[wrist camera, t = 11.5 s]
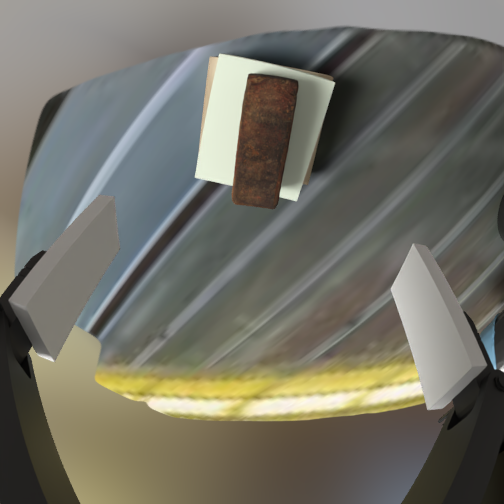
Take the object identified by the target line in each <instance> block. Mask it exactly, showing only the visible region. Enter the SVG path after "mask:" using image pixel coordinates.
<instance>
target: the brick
mask: <svg viewBox="0 0 504 504" xmlns="http://www.w3.org/2000/svg"><path fill="white" fill-rule="evenodd" d="M298 88H299V85H298V80H295V79H290V78H285V77H280V76H274V75H265V74H257V73H250V74H248V78H247V83H246V89H245V92H244V99H243V104H242V113H241V120H240V125H239V135H238V143H237V151H236V161H235V170H234V178H233V188H232V201H233V202H234V203H235V204H237V205H246V206H254V207H262V208H269V209H275V208H276V206H277V204H278V201H279V196H280V190H281V183H282V178H283V173H284V168H285V163H286V158H287V153H288V147H289V141H290V136H291V131H292V125H293V120H294V113H295V107H296V102H297V93H298Z"/></svg>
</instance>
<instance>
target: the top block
mask: <svg viewBox="0 0 504 504" xmlns="http://www.w3.org/2000/svg"><path fill="white" fill-rule="evenodd" d="M250 73H257V74H265V75H274V76H280V77H285V78H290V79H295V80H298V85H299V88H298V93H297V102H296V107H295V113H294V120H293V125H292V131H291V136H290V141H289V147H288V153H287V158H286V163H285V168H284V173H283V178H282V183H281V190H280V196H279V197H282V198H286V199H290V200H294V201H297V199H298V196H299V193H300V190H301V187H302V184H303V181H304V178H305V175H306V172H307V169H308V166H309V163H310V160H311V157H312V154H313V151H314V148H315V145H316V142H317V139H318V136H319V132H320V129H321V126H322V123H323V120H324V117H325V114H326V111H327V107H328V104H329V101H330V98H331V95H332V92H333V88H334V85H335V82H333V81H331V80H328V79H325V78H322V77H319V76H316V75H312V74H309V73H306V72H302V71H299V70H295V69H291V68H288V67H284V66H280V65H276V64H272V63H268V62H263V61H259V60H254V59H249V58H245V57H239V56H234V55H229V54H219V57H218V61H217V66H216V70H215V75H214V79H213V84H212V89H211V93H210V98H209V103H208V108H207V113H206V118H205V123H204V128H203V134H202V139H201V145H200V150H199V156H198V162H197V168H196V174H195V178H199V179H204V180H208V181H213V182H218V183H222V184H227V185H231V186H233V178H234V170H235V161H236V151H237V143H238V135H239V125H240V120H241V113H242V104H243V99H244V92H245V89H246V83H247V78H248V74H250Z"/></svg>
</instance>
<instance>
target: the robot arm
mask: <svg viewBox="0 0 504 504" xmlns="http://www.w3.org/2000/svg"><path fill="white" fill-rule="evenodd" d="M498 230H499V234H500V236H501V238H502V240H503V241H504V196H503V198H502V201H501V204H500V208H499V213H498ZM119 250H120V245H119V237H118V228H117V219H116V209H115V198H114V197H113V196H104V195H99V196H98V197H97V198H96V199H95V200H94V201H93V202H92V203H91V204H90V205H89V206H88V207H87V208H86V209H85V210H84V211H83V212H82V213H81V214H80V215H79V216H78V217H77V218H76V219H75V220H74V222H73V223H72V224H71V225H70V226H69V227H68V228H67V229H66V230H65V231H64V232H63V234H62V235H61V236H60V237H59V238H58V239H57V240H56V241H55V243H54V244H53V245H52V246H51V247H50V248H49V249H48V251H43V250H42V251H41V252H39V253H38V254H36V255H35V256H33V257H32V258H31V259H30V260H29V261H28V263H27V264H26V265H25V266H24V269H22V270H21V271H20V272H19V274H18V276H16V277H15V279H14V280H13V281H12V282H11V284H10V285H9V286H8V288H7V289H6V290H5V292H4V293H3V294H2V296H1V297H0V504H80V502H79V500H78V498H77V496H76V494H75V492H74V490H73V487H72V485H71V483H70V481H69V478H68V476H67V474H66V471H65V469H64V467H63V465H62V462H61V460H60V457H59V454H58V452H57V449H56V446H55V443H54V440H53V438H52V435H51V432H50V429H49V426H48V423H47V419H46V416H45V413H44V410H43V406H42V402H41V399H40V395H39V391H38V387H37V383H36V379H35V375H34V370H33V365H32V360H31V357H30V355H29V353H28V352H29V350H30V349H31V347H32V346H33V348H34V350H35V351H36V353H37V355H38V356H40V357H43V358H45V359H48V360H50V361H53V362H55V360H56V358H57V356H58V354H59V352H60V350H61V349H62V347H63V345H64V343H65V341H66V339H67V337H68V335H69V333H70V331H71V330H72V328H73V326H74V324H75V322H76V321H77V319H78V317H79V315H80V314H81V312H82V310H83V308H84V307H85V305H86V303H87V301H88V300H89V298H90V296H91V295H92V293H93V291H94V290H95V288H96V286H97V285H98V283H99V281H100V280H101V278H102V276H103V275H104V273H105V272H106V270H107V268H108V267H109V265H110V264H111V262H112V261H113V259H114V257H115V256H116V254H117V253H118V251H119ZM391 292H392V294H393V297H394V300H395V303H396V306H397V308H398V311H399V314H400V317H401V320H402V323H403V326H404V329H405V332H406V335H407V338H408V341H409V344H410V348H411V351H412V354H413V358H414V361H415V364H416V368H417V371H418V375H419V379H420V382H421V386H422V390H423V394H424V397H425V401H426V405H427V409H428V410H433V409H442V408H444V407H445V406H446V405H447V404H448V403H449V402H451V401H452V400H453V404H454V407H453V408H452V409H451V410H450V411H448V412H447V413H446V414H445V415H443V416H442V417H441V418H440V419H439V421H438V422H439V423H440V422H442V421H443V420H444V419H446V420H445V423H444V424H443V427H442V429H441V432H440V434H439V436H438V438H437V440H436V442H435V444H434V447H433V449H432V450H431V453H430V454H429V457H428V458H427V460H426V463H425V464H424V466H423V468H422V470H421V471H420V473H419V475H418V477H417V478H416V480H415V482H414V484H413V485H412V487H411V489H410V491H409V492H408V494H407V495H406V497H405V499H404V500H403V502H402V503H401V504H504V310H503V311H502V312H501V313H498V314H497V315H496V316H495V318H494V320H493V321H492V322H491V323H490V324H489V325H488V326H487V327H486V328H485V329H484V330H483V331H482V332H481V334H480V335H479V333H477V329H476V327H475V325H474V323H473V321H472V320H471V318H470V317H469V316H468V315H467V314H466V312H463V311H462V309H461V307H460V305H459V303H458V301H457V299H456V297H455V295H454V293H453V291H452V290H451V288H450V286H449V284H448V282H447V280H446V279H445V277H444V275H443V273H442V271H441V270H440V268H439V266H438V264H437V263H436V261H435V259H434V258H433V256H432V254H431V253H430V251H429V249H428V248H427V246H424V245H419V244H414V243H413V245H412V247H411V249H410V251H409V253H408V255H407V257H406V260H405V262H404V264H403V266H402V268H401V270H400V272H399V274H398V276H397V278H396V280H395V282H394V284H393V286H392V288H391Z"/></svg>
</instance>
